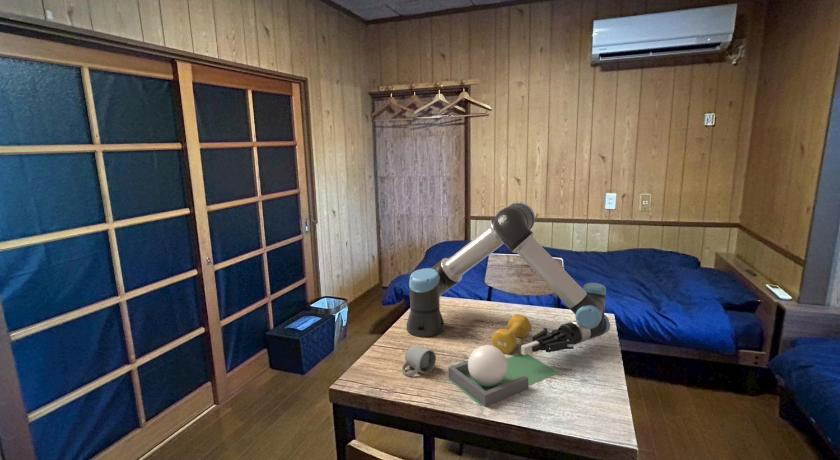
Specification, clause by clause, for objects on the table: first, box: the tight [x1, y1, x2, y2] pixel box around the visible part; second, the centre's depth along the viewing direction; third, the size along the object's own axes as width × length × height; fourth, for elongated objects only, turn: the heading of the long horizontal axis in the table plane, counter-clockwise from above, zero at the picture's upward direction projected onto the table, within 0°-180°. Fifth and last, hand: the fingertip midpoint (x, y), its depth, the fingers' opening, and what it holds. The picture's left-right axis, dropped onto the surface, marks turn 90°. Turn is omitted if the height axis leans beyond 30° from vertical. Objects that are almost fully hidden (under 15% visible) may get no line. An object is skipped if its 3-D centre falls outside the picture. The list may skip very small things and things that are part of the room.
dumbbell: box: [491, 314, 533, 355], centre depth 156 cm, size 19×9×8 cm, turn 145°
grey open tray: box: [447, 360, 529, 407], centre depth 131 cm, size 18×16×4 cm
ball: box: [467, 344, 508, 387], centre depth 130 cm, size 12×12×12 cm
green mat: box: [448, 353, 560, 407], centre depth 135 cm, size 16×32×1 cm, turn 121°
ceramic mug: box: [401, 344, 437, 377], centre depth 140 cm, size 11×8×8 cm
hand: (522, 350), depth 137 cm, fingers closed
